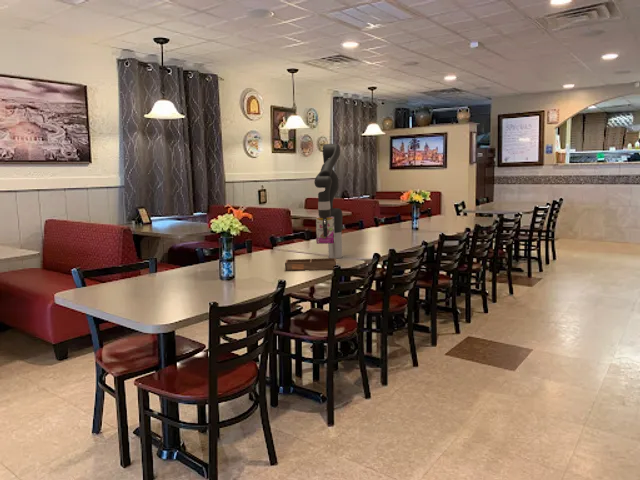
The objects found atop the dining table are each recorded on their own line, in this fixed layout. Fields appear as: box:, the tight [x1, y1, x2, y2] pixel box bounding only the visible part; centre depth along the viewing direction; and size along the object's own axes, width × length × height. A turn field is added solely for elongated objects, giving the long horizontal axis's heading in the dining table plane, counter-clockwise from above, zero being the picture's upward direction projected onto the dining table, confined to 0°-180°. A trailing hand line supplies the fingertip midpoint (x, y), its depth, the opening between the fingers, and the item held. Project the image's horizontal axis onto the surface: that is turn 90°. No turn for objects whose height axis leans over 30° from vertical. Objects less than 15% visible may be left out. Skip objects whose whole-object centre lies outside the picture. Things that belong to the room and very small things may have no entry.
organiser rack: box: [284, 257, 337, 272], centre depth 304 cm, size 11×30×5 cm, turn 89°
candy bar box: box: [315, 216, 335, 245], centre depth 311 cm, size 11×5×16 cm, turn 85°
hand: (325, 235), depth 312 cm, fingers closed on candy bar box, 5 cm apart
